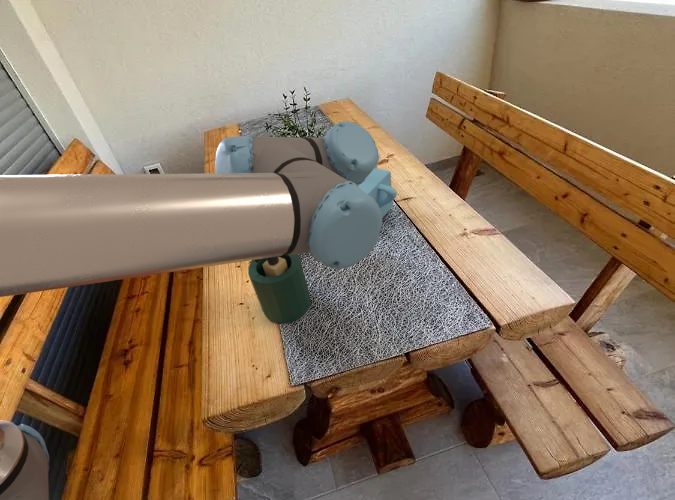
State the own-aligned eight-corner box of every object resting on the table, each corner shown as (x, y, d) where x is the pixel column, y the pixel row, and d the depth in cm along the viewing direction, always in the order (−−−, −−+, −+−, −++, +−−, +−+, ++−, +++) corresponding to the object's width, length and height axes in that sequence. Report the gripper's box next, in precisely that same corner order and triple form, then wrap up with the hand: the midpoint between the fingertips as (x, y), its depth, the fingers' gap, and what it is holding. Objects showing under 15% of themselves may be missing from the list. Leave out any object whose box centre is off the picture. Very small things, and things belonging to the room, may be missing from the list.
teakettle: (403, 228, 101) (401, 178, 92) (333, 245, 99) (324, 196, 90) (381, 193, 115) (378, 147, 106) (320, 207, 114) (311, 162, 105)
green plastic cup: (276, 331, 80) (261, 291, 72) (255, 303, 87) (240, 263, 80) (319, 306, 84) (309, 265, 76) (296, 280, 91) (284, 240, 83)
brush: (280, 287, 79) (259, 224, 69) (268, 282, 81) (245, 220, 70) (290, 277, 81) (271, 214, 71) (278, 272, 83) (258, 210, 72)
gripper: (292, 246, 56) (245, 290, 75) (349, 193, 65) (294, 244, 84) (256, 207, 55) (217, 261, 74) (318, 159, 64) (269, 218, 83)
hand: (258, 252), depth 79 cm, fingers closed on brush, 2 cm apart
